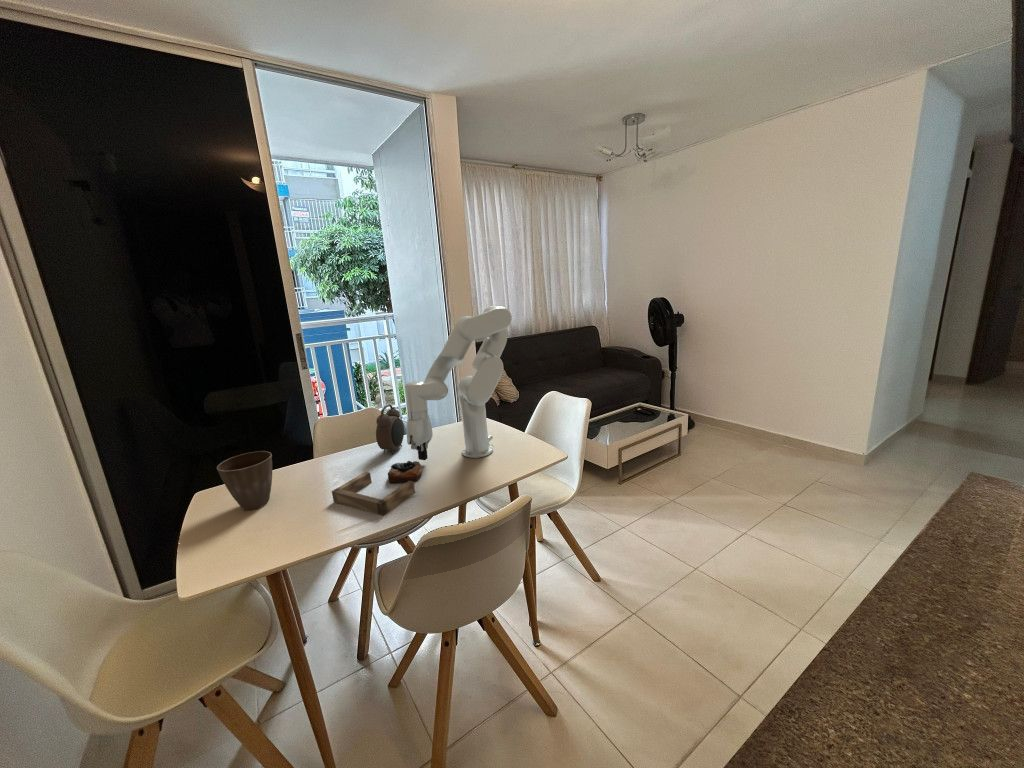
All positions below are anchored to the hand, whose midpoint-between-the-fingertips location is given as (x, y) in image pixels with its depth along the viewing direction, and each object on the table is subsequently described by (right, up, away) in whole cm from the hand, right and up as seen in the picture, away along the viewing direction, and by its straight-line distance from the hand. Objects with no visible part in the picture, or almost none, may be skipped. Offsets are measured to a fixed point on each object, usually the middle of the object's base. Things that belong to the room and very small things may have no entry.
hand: (423, 459), depth 150 cm
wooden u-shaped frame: (-11, -8, -22) cm, 26 cm away
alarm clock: (-16, 0, +16) cm, 23 cm away
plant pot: (-51, -11, -21) cm, 56 cm away
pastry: (-4, -5, -9) cm, 11 cm away
